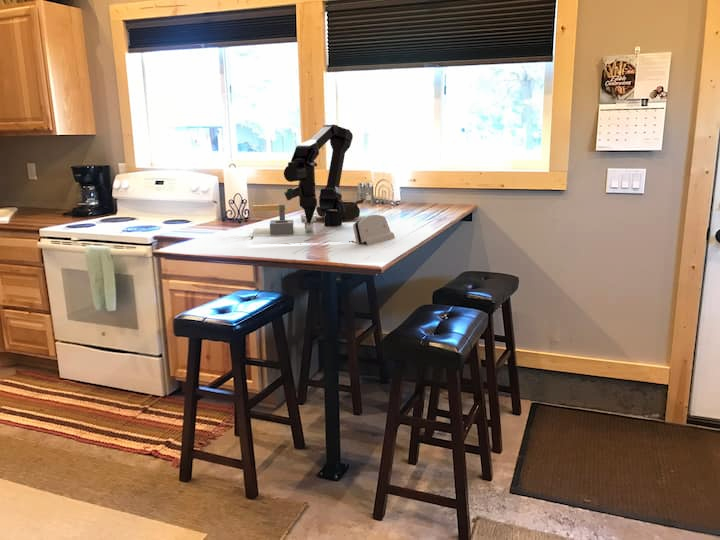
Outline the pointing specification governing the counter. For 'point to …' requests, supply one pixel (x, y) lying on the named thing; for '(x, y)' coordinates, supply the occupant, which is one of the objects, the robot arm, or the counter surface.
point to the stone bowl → (350, 212)
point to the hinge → (372, 230)
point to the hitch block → (281, 228)
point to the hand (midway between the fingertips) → (308, 221)
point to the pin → (308, 225)
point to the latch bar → (268, 207)
